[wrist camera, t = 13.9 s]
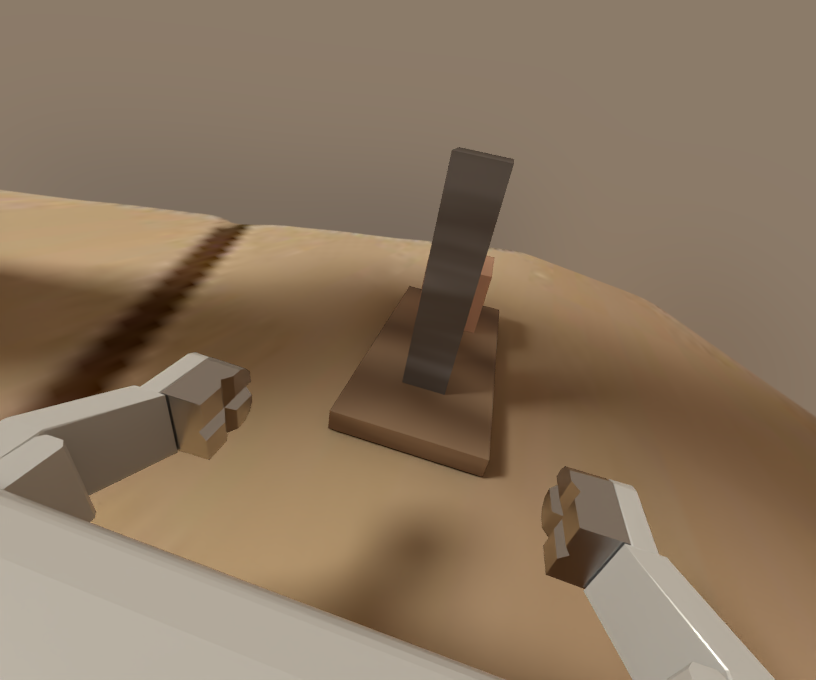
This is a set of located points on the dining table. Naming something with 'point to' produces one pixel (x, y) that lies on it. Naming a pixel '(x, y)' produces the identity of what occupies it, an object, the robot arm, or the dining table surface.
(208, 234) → the dining table surface
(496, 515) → the dining table surface
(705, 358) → the dining table surface
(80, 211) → the dining table surface
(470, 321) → the terracotta block
